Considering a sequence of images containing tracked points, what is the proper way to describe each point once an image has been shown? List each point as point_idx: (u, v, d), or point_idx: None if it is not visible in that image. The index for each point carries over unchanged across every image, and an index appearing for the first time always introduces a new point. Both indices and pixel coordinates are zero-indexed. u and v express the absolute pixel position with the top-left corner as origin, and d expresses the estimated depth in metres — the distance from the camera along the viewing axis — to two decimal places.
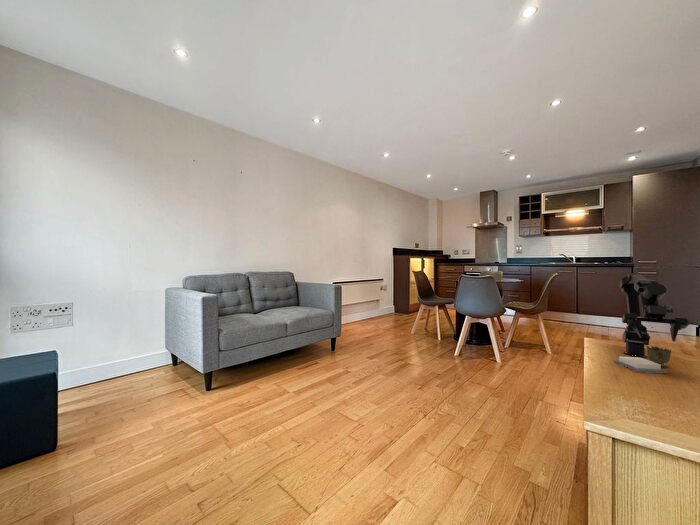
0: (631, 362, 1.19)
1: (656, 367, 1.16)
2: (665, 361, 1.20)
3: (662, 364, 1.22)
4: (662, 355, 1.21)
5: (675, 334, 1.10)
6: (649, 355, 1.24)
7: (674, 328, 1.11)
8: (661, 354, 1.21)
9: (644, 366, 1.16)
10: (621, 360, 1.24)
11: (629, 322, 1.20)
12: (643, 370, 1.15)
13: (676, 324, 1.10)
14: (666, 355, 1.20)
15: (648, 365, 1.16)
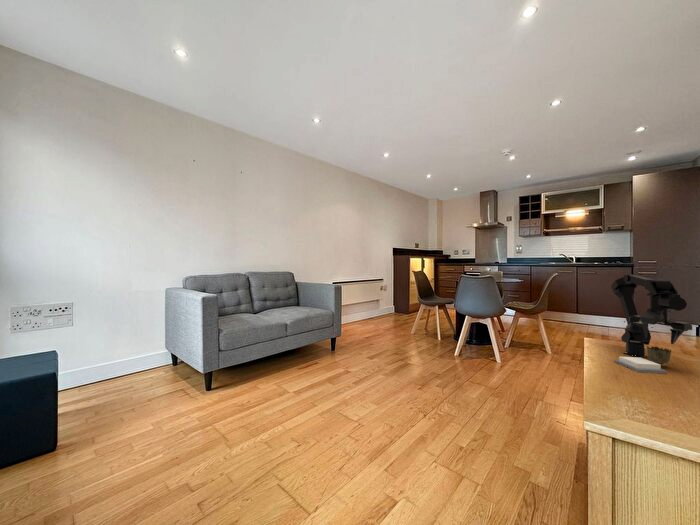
0: (631, 362, 1.19)
1: (656, 367, 1.16)
2: (665, 361, 1.20)
3: (662, 364, 1.22)
4: (662, 355, 1.21)
5: (672, 338, 1.18)
6: (649, 355, 1.24)
7: (672, 333, 1.18)
8: (661, 354, 1.21)
9: (644, 366, 1.16)
10: (621, 360, 1.24)
11: None
12: (643, 370, 1.15)
13: (671, 330, 1.18)
14: (666, 355, 1.20)
15: (648, 365, 1.16)
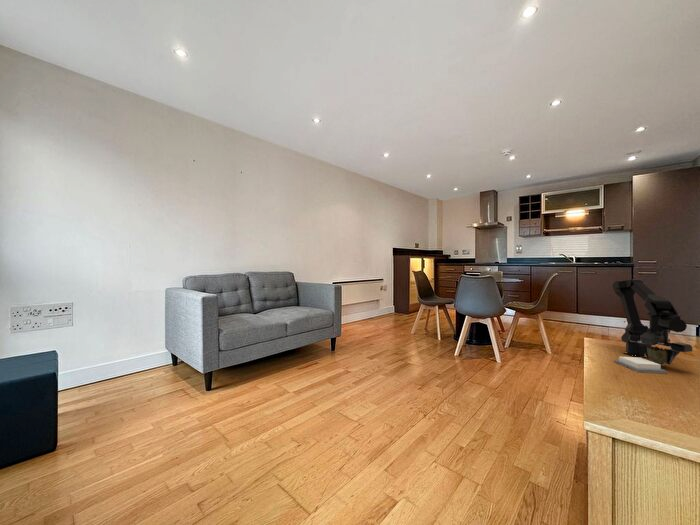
0: (631, 362, 1.19)
1: (656, 367, 1.16)
2: (665, 361, 1.20)
3: (662, 364, 1.22)
4: (662, 355, 1.21)
5: (669, 358, 1.19)
6: (649, 355, 1.24)
7: (668, 353, 1.19)
8: (661, 354, 1.21)
9: (644, 366, 1.16)
10: (621, 360, 1.24)
11: None
12: (643, 370, 1.15)
13: (668, 350, 1.19)
14: (666, 355, 1.20)
15: (648, 365, 1.16)
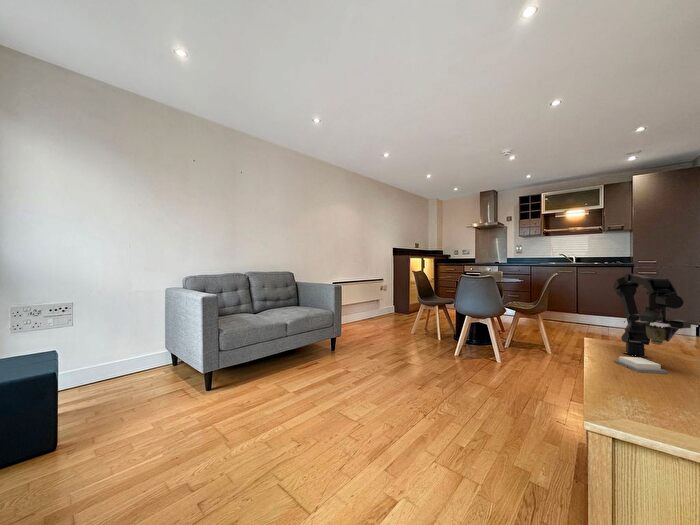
0: (631, 362, 1.19)
1: (656, 367, 1.16)
2: (664, 339, 1.20)
3: (661, 342, 1.22)
4: (661, 333, 1.20)
5: (667, 336, 1.19)
6: (648, 333, 1.24)
7: (667, 330, 1.19)
8: (659, 332, 1.20)
9: (644, 366, 1.16)
10: (621, 360, 1.24)
11: None
12: (643, 370, 1.15)
13: (666, 328, 1.18)
14: (664, 333, 1.20)
15: (648, 365, 1.16)
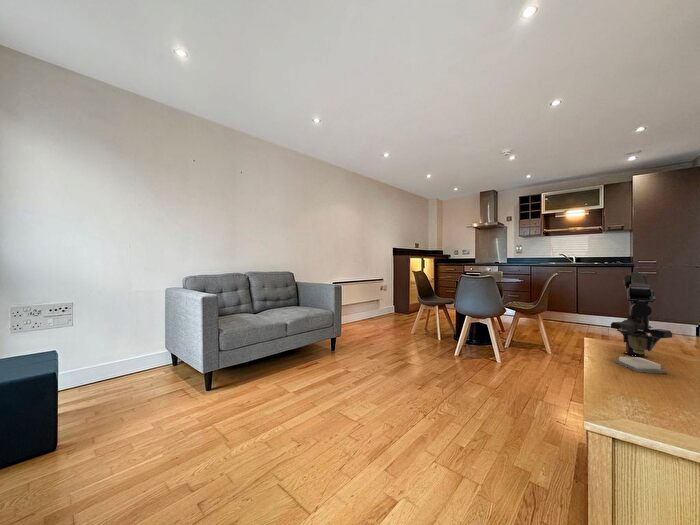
0: (631, 362, 1.19)
1: (656, 367, 1.16)
2: (645, 348, 1.18)
3: (642, 351, 1.19)
4: (642, 342, 1.18)
5: (649, 345, 1.17)
6: (630, 342, 1.22)
7: (648, 340, 1.17)
8: (641, 341, 1.18)
9: (644, 366, 1.16)
10: (621, 360, 1.24)
11: None
12: (643, 370, 1.15)
13: (648, 337, 1.16)
14: (646, 342, 1.17)
15: (648, 365, 1.16)
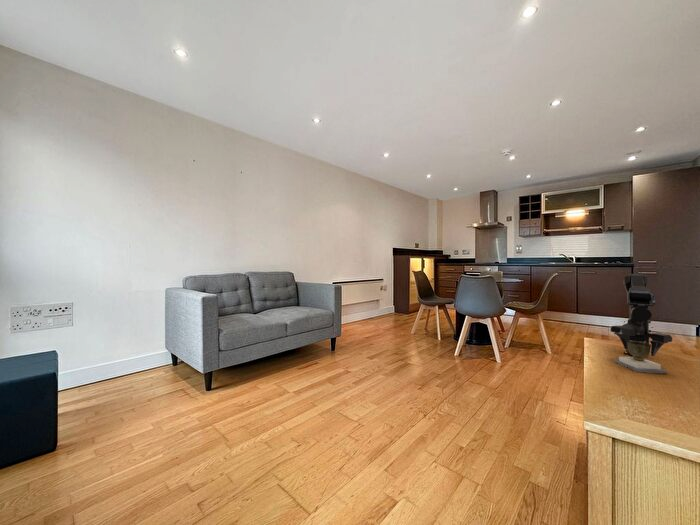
0: (631, 362, 1.19)
1: (656, 367, 1.16)
2: (645, 355, 1.18)
3: (642, 358, 1.19)
4: (642, 349, 1.18)
5: (652, 350, 1.15)
6: (629, 349, 1.22)
7: (652, 344, 1.15)
8: (640, 348, 1.18)
9: (644, 366, 1.16)
10: (621, 360, 1.24)
11: None
12: (643, 370, 1.15)
13: (651, 342, 1.15)
14: (645, 350, 1.18)
15: (648, 365, 1.16)
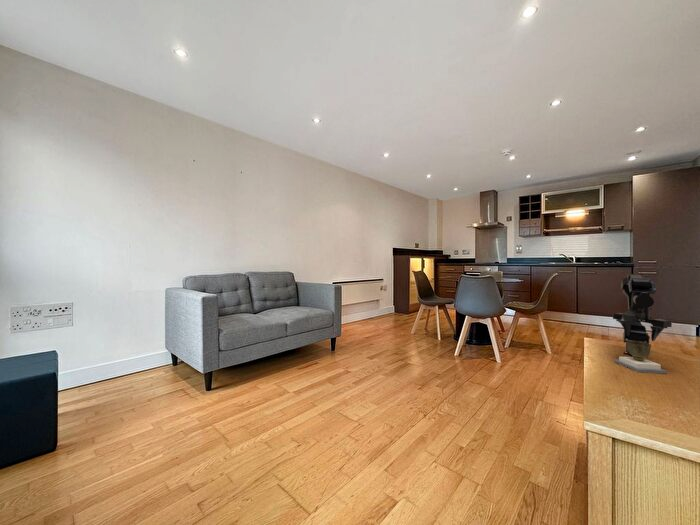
0: (631, 362, 1.19)
1: (656, 367, 1.16)
2: (645, 355, 1.18)
3: (642, 358, 1.19)
4: (642, 349, 1.18)
5: (653, 335, 1.21)
6: (629, 349, 1.22)
7: (652, 330, 1.21)
8: (640, 348, 1.18)
9: (644, 366, 1.16)
10: (621, 360, 1.24)
11: None
12: (643, 370, 1.15)
13: (651, 327, 1.21)
14: (645, 350, 1.18)
15: (648, 365, 1.16)
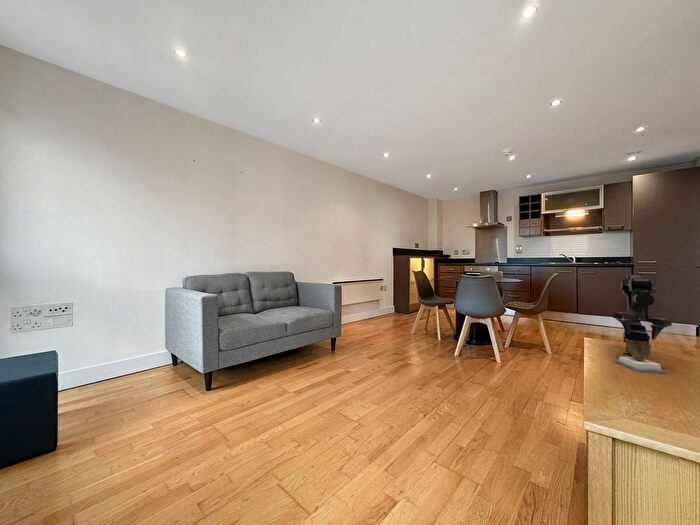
0: (631, 362, 1.19)
1: (656, 367, 1.16)
2: (645, 355, 1.18)
3: (642, 358, 1.19)
4: (642, 349, 1.18)
5: (653, 334, 1.22)
6: (629, 349, 1.22)
7: (652, 329, 1.22)
8: (640, 348, 1.18)
9: (644, 366, 1.16)
10: (621, 360, 1.24)
11: None
12: (643, 370, 1.15)
13: (652, 326, 1.21)
14: (645, 350, 1.18)
15: (648, 365, 1.16)
